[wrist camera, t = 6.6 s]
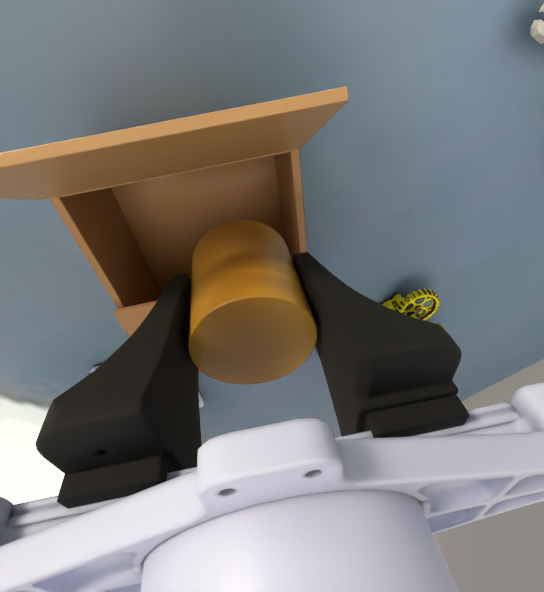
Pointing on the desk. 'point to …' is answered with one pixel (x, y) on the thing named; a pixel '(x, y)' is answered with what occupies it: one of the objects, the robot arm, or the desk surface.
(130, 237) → the toy box
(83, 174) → the flap
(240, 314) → the cylinder
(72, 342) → the desk surface
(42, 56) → the desk surface
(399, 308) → the toy motorcycle
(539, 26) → the robot toy
